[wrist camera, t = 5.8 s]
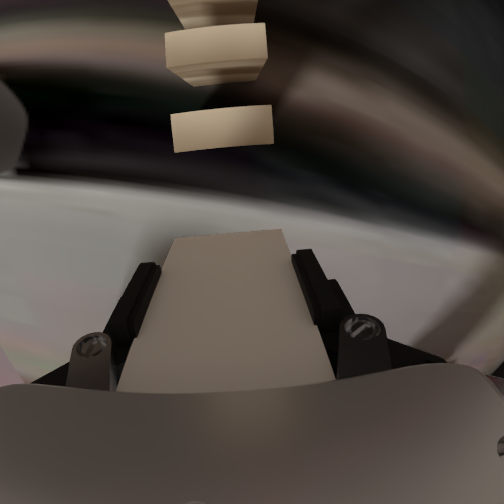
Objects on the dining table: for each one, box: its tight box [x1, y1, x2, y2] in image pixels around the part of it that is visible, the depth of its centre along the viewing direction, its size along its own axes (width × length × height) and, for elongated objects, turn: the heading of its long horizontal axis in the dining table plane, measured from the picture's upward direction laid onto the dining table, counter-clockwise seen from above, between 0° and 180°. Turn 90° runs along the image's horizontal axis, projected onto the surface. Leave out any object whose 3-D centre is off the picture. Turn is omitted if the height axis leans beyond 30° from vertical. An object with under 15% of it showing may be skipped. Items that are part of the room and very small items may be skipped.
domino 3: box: [171, 105, 274, 153], centre depth 19 cm, size 2×5×10 cm, turn 94°
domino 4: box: [116, 229, 336, 393], centre depth 10 cm, size 2×5×10 cm, turn 94°
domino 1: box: [168, 0, 258, 30], centre depth 15 cm, size 2×5×10 cm, turn 94°
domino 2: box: [165, 23, 268, 87], centre depth 17 cm, size 2×5×10 cm, turn 94°
